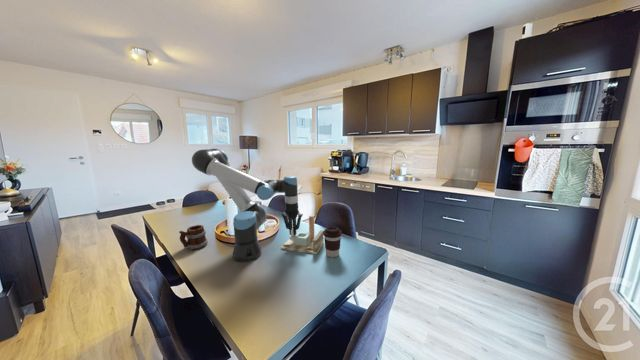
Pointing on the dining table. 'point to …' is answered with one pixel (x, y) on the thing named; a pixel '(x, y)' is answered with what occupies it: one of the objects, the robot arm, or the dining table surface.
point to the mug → (194, 237)
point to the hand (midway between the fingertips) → (293, 239)
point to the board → (311, 248)
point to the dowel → (311, 226)
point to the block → (302, 239)
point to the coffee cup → (332, 241)
